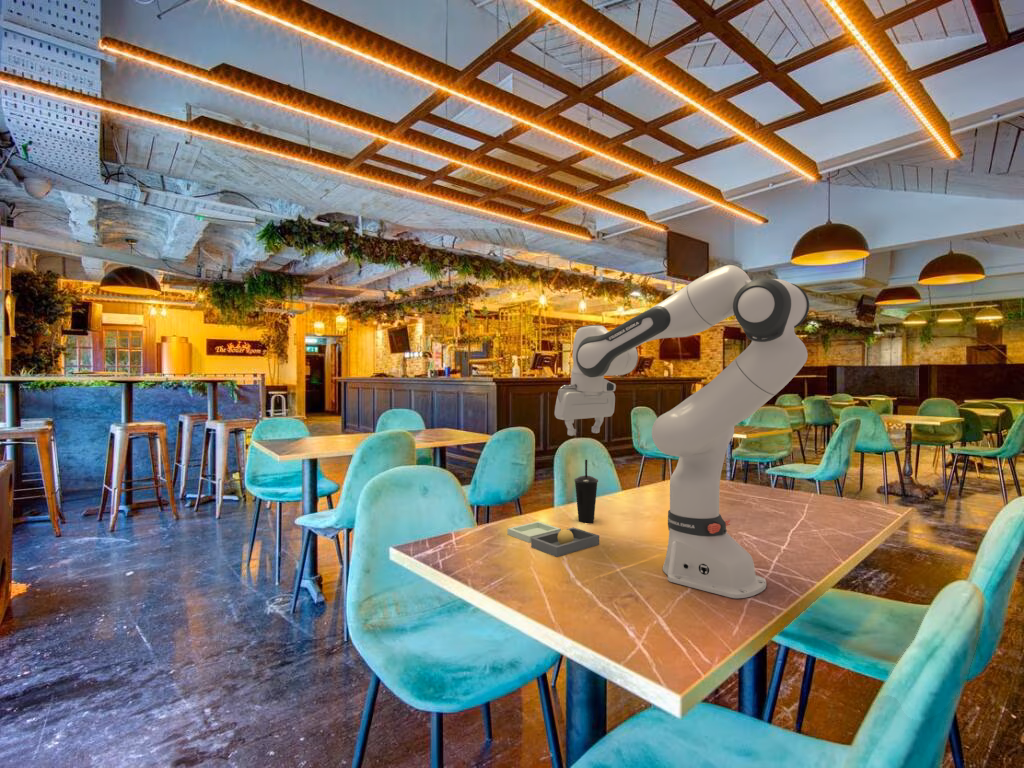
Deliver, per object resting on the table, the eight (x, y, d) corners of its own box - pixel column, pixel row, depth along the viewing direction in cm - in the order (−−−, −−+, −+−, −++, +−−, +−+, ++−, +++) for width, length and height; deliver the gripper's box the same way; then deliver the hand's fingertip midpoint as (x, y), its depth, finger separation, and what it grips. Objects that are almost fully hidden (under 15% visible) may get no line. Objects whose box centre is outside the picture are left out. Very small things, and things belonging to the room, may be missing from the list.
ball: (577, 545, 139) (577, 529, 139) (565, 549, 136) (565, 532, 136) (565, 542, 143) (565, 526, 143) (554, 545, 140) (554, 529, 140)
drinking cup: (600, 525, 161) (599, 461, 161) (575, 525, 161) (575, 461, 161) (596, 518, 168) (596, 458, 168) (573, 518, 169) (573, 458, 168)
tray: (561, 536, 149) (561, 528, 149) (529, 544, 142) (529, 536, 142) (538, 528, 157) (538, 521, 157) (507, 536, 150) (507, 528, 150)
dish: (599, 546, 141) (599, 535, 140) (556, 559, 131) (556, 547, 131) (573, 537, 148) (573, 527, 148) (531, 549, 138) (531, 538, 138)
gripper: (567, 386, 132) (564, 439, 133) (620, 385, 145) (616, 433, 146) (551, 383, 137) (548, 434, 138) (603, 382, 150) (600, 429, 151)
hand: (583, 434), depth 142 cm, fingers open, 8 cm apart
